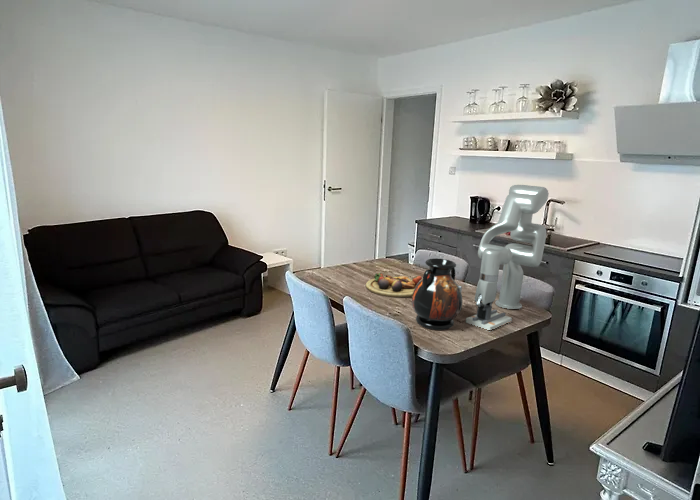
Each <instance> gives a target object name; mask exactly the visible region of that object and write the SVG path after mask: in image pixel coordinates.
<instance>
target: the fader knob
mask: <svg viewBox="0 0 700 500" xmlns="http://www.w3.org/2000/svg"><path fill="white" fill-rule="evenodd" d="M481 305H482V304H481ZM482 306H483V305H482ZM478 310H479V309H478V308H477V310H476V314H477V317H478ZM492 310H493V306H489V305H486V307H485V311H486V313H485V319H481V318H479V320H481V321H483V320H488V319H490V318H491V311H492Z"/></svg>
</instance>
